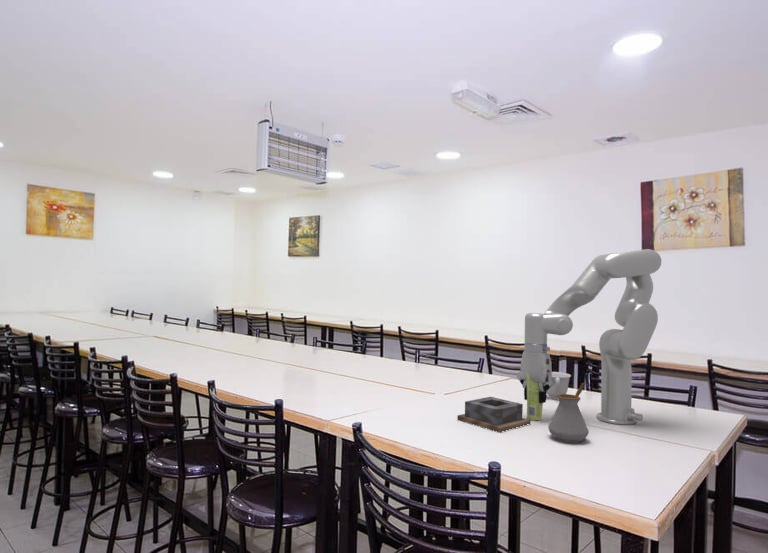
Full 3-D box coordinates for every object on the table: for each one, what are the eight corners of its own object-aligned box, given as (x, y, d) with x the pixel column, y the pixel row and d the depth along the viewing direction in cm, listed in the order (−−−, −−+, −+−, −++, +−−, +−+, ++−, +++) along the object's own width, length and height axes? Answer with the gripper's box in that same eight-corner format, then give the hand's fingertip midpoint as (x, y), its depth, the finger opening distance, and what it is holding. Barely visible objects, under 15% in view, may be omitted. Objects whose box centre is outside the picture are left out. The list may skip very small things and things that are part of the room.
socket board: (530, 424, 162) (530, 404, 162) (499, 432, 152) (500, 411, 152) (487, 413, 176) (488, 395, 177) (457, 419, 166) (457, 400, 167)
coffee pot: (581, 447, 139) (582, 395, 140) (542, 439, 146) (542, 389, 147) (603, 431, 156) (603, 384, 156) (566, 424, 163) (567, 379, 163)
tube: (535, 416, 173) (536, 361, 173) (546, 420, 168) (547, 363, 169) (523, 418, 170) (524, 362, 170) (534, 422, 166) (535, 364, 166)
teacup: (542, 401, 196) (542, 376, 196) (539, 394, 210) (539, 370, 210) (573, 404, 193) (574, 378, 193) (568, 396, 207) (569, 372, 208)
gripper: (563, 350, 165) (563, 404, 165) (521, 345, 179) (520, 395, 178) (551, 352, 160) (550, 407, 160) (508, 346, 174) (508, 397, 173)
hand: (535, 400), depth 169 cm, fingers closed on tube, 5 cm apart
